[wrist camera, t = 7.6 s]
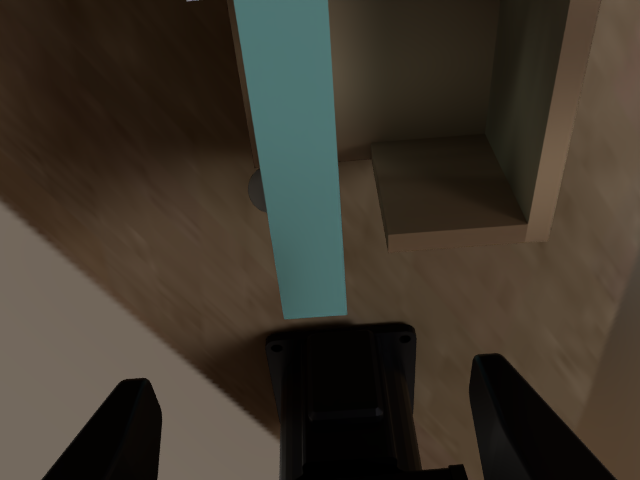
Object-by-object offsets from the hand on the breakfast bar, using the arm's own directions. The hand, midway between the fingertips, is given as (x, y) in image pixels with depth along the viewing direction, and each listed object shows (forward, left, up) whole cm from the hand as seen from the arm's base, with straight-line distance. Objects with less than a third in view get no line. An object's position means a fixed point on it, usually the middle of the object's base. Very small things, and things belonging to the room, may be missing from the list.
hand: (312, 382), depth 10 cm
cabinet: (+3, -2, -12) cm, 12 cm away
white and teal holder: (+3, 0, -10) cm, 11 cm away
